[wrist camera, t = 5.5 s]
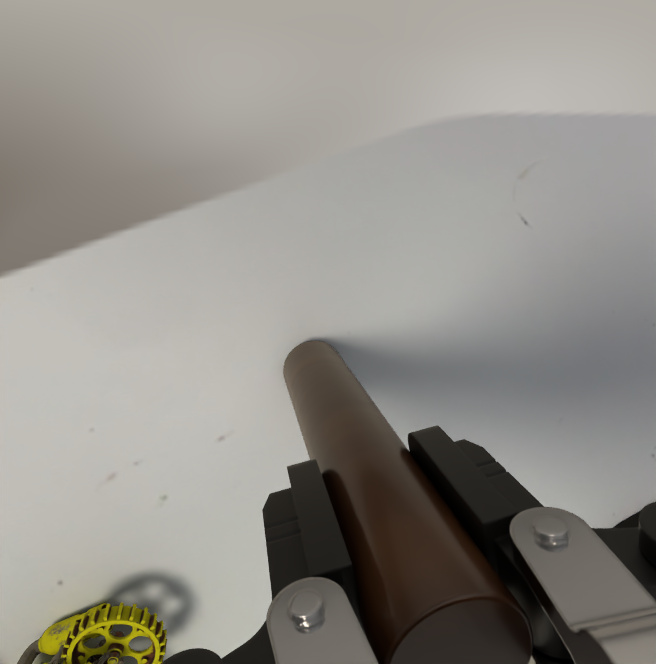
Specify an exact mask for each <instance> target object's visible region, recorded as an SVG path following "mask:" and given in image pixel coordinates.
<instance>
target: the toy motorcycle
mask: <svg viewBox="0 0 656 664" xmlns="http://www.w3.org/2000/svg"><path fill="white" fill-rule="evenodd" d="M123 605H124V603H120V606H114V607H111V604H107V603H103V604H101V605H98V606H96V607H94V608H91V609H89V610H88V611H87V612H86V613H80V614H77V615H75V616H72V617H70V618H68V619H65V620H63V621H61V622H58V623H56V624H53V625H52V626H50V627H49V628H48V629H47V630H46V631H45V632H44V634H43V635H42V637H40V639H39V640H37V641H35V642H34V643H32V644H31V645H30V646H29V647H28V648H27V649H26V650H25V652H24V653H23V655H22V656H21V658H20V659H19V661H18V663H17V664H32V663H33V661H34V659H35V658H36V656H37V655H38V654H40V653H41V652H42V653H46V654H49V655H55V656H54V657H53V659H52V660H51V661H50V662H49V663H44V662H42V663H41V664H53V663H54V664H59V662H60V659H61V658H62V657H65V658H64V661H63V664H123V663H124V661H123V658H122V657H123V656H133V657H134V658H136V659H137V661H138V664H161V663H162V662H163V655H165V650H166V642H167V639H166V634H167V631H166V630H163V621H160V622H157V620H156V619H157V614H156V613H154V614H153V615H151V614H149V613H148V608H146V607H145V608H144V609H143V610H142V609H139V608H136V605H137V604H133V606H132V607H130V606H123ZM114 624H125V625H131V626H132V632H131V633H130V634H129V635H127V636H125V637H124V633H123V632H120V631H119V632H116V633H115V632H114V631H113V632H112V633H111V630H112V629H113V625H114ZM102 635H103V636H105V639H106V640H100V641H99V643H98V644H97V645H96V646H95V647H94V648H88V647H86V646H84V644H83V643H85V642H87V641H88V639H90V638H93V639H94V638H97V637H99V636H102ZM137 636H146V637H148V638H150V640H151V642H152V645H151V646H150V647H149V648H148V649H146V650H143V651H135V650H133V649H131V648H130V646H129V642H130V641H131V640H132V639H133V638H135V637H137ZM102 655H103V657H102V659H101V660H100V661H99V658H100V657H101V656H102ZM54 661H55V662H54Z"/></svg>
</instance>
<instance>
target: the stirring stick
mask: <svg viewBox="0 0 656 664" xmlns="http://www.w3.org/2000/svg"><path fill="white" fill-rule="evenodd" d="M283 374H284V379H285V382H286V385H287V388H288V391H289V395H290V398H291V401H292V404H293V407H294V410H295V413H296V417H297V420H298V423H299V426H300V429H301V432H302V436H303V439H304V442H305V445H306V448H307V451H308V455H309V458H310V460H313V459H316V460H317V463H318V466H319V469H320V472H321V475H322V478H323V480H324V483H325V486H326V489H327V492H328V495H329V498H330V501H331V504H332V507H333V510H334V513H335V516H336V518H337V521H338V524H339V527H340V530H341V533H342V536H343V539H344V542H345V545H346V548H347V551H348V553H349V556H350V559H351V562H352V566H353V571H354V576H355V581H356V585H357V590H358V595H359V613H360V618H361V622H362V625H363V628H364V631H365V635H366V638H367V640H368V643H369V645H370V647H371V649H372V651H373V653H374V655H375V657H376V660H377V662H378V664H529V662H530V658H531V655H532V650H533V632H532V627H531V623H530V620H529V618H528V616H527V614H526V612H525V611H524V609H523V608H522V607H521V605H520V604H519V603H518V601H517V600H516V598H515V597H514V596H513V594H512V593H511V591H510V590H509V589H508V587H507V586H506V585H505V583H504V582H503V580H502V579H501V578H500V576H499V575H498V573H497V572H496V571H495V569H494V568H493V567H492V565H491V564H490V562H489V561H488V560H487V558H486V557H485V555H484V554H483V553H482V551H481V550H480V549H479V547H478V546H477V544H476V543H475V542H474V540H473V539H472V537H471V536H470V535H469V533H468V532H467V531H466V529H465V528H464V526H463V525H462V524H461V522H460V521H459V520H458V518H457V517H456V515H455V514H454V513H453V511H452V510H451V508H450V507H449V506H448V504H447V503H446V502H445V500H444V499H443V497H442V496H441V495H440V493H439V492H438V490H437V489H436V488H435V486H434V485H433V484H432V482H431V481H430V479H429V478H428V477H427V475H426V474H425V472H424V471H423V470H422V468H421V467H420V466H419V464H418V463H417V461H416V460H415V459H414V457H413V456H412V454H411V453H410V452H409V450H408V449H407V448H406V446H405V445H404V443H403V442H402V441H401V439H400V438H399V437H398V435H397V434H396V432H395V431H394V430H393V428H392V427H391V425H390V424H389V423H388V421H387V420H386V419H385V417H384V416H383V414H382V413H381V412H380V410H379V409H378V407H377V406H376V405H375V403H374V402H373V401H372V399H371V398H370V396H369V395H368V394H367V392H366V391H365V389H364V388H363V387H362V385H361V384H360V383H359V381H358V380H357V378H356V377H355V376H354V374H353V373H352V371H351V370H350V369H349V367H348V366H347V365H346V363H345V362H344V360H343V359H342V358H341V356H340V355H339V354H338V352H337V351H336V350H335V349H334V348H333V347H332V346H330V345H329V344H327V343H324V342H320V341H309V342H305V343H302V344H300V345H298V346H297V347H295V348H294V349H293V350H292V351H291V352H290V353H289V355H288V356H287V358H286V360H285V363H284V368H283Z"/></svg>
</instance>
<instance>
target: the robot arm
mask: <svg viewBox="0 0 656 664" xmlns="http://www.w3.org/2000/svg"><path fill="white" fill-rule="evenodd" d="M408 444H409V450H410V453H411V454H412V456H413V457H414V459H415V460H416V461H417V463H418V464H419V466H420V467H421V468H422V470H423V471H424V472H425V474H426V475H427V477H428V478H429V479H430V481H431V482H432V484H433V485H434V486H435V488H436V489H437V490H438V492H439V493H440V495H441V496H442V497H443V499H444V500H445V502H446V503H447V504H448V506H449V507H450V508H451V510H452V511H453V513H454V514H455V515H456V517H457V518H458V520H459V521H460V522H461V524H462V525H463V526H464V528H465V529H466V531H467V532H468V533H469V535H470V536H471V537H472V539H473V540H474V542H475V543H476V544H477V546H478V547H479V549H480V550H481V551H482V553H483V554H484V555H485V557H486V558H487V560H488V561H489V562H490V564H491V565H492V567H493V568H494V569H495V571H496V572H497V573H498V575H499V576H500V578H501V579H502V580H503V582H504V583H505V585H506V586H507V587H508V589H509V590H510V591H511V593H512V594H513V596H514V597H515V598H516V600H517V601H518V603H519V604H520V605H521V607H522V608H523V609H524V611H525V612H526V614H527V616H528V618H529V620H530V623H531V627H532V632H533V650H532V655H531V658H530V662H529V664H656V502H654V503H651V504H649V505H647V506H645V507H644V508H643V509H642V510H641V512H640V514H639V527H630V528H607V529H595V528H591V527H590V526H589V525H588V524H587V523H586V522H585V521H584V520H582V519H581V518H580V517H578V516H576V515H574V514H573V513H570V512H568V511H565V510H562V509H558V508H552V507H544V506H543V505H542V504H541V503H540V502H539V501H538V500H537V499H536V498H534V497H533V496H532V495H531V494H530V493H529V492H528V491H527V490H526V489H525V488H524V487H523V486H522V485H521V484H520V483H519V482H518V481H517V480H516V479H515V478H514V477H513V476H512V475H511V474H510V473H509V472H506V470H505V468H504V467H503V466H501V465H500V464H499V463H498V462H496V461H495V459H494V458H493V457H492V456H491V455H490V454H489V453H488V452H487V451H486V450H485V449H484V448H483V447H481V446H479V445H476V444H474V443H472V442H469V441H467V440H465V439H463V440H460V441H456V442H454V441H453V440H452V439H451V438H450V437H449V436H448V435H447V434H446V433H445V432H444V431H443V430H442V429H441V428H440V427H439V426H433V427H430V428H426V429H422V430H419V431H415V432H412V433H409V434H408ZM287 469H288V474H289V479H290V483H291V488H289V489H285V490H281V491H278V492H274V493H271V494H270V495H269V497H268V499H267V501H266V503H265V506H264V508H263V519H264V527H265V537H266V546H267V554H268V563H269V572H270V581H271V590H272V602H271V604H270V607H269V609H268V612H267V619H266V621H265V623H264V624H263V626H262V627H261V628H260V630H259V631H258V632H257V633H256V634H255V635H254V636H253V637H252V638H251V639H250V640H248V641H247V642H246V643H244V644H243V645H242V646H240V647H239V648H237V649H235V650H234V651H232V652H231V653H229V654H228V655H226V656H225V657H223V658H222V659H221V658H220V657H219V656H218V655H217V654H216V653H214V652H212V651H210V650H207V649H200V648H196V649H189V650H185V651H182V652H179V653H177V654H175V655H173V656H171V657H170V658H168V659H166V660H165V661H164V662H162V663H161V664H378V662H377V660H376V657H375V655H374V653H373V651H372V649H371V647H370V645H369V643H368V640H367V638H366V635H365V631H364V628H363V625H362V622H361V618H360V613H359V595H358V590H357V585H356V581H355V576H354V571H353V566H352V562H351V559H350V556H349V553H348V551H347V548H346V545H345V542H344V539H343V536H342V533H341V530H340V527H339V524H338V521H337V518H336V516H335V513H334V510H333V507H332V504H331V501H330V498H329V495H328V492H327V489H326V486H325V483H324V480H323V478H322V475H321V472H320V469H319V466H318V463H317V460H316V459H313V460H309V461H305V462H302V463H298V464H295V465H291V466H287Z"/></svg>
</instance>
